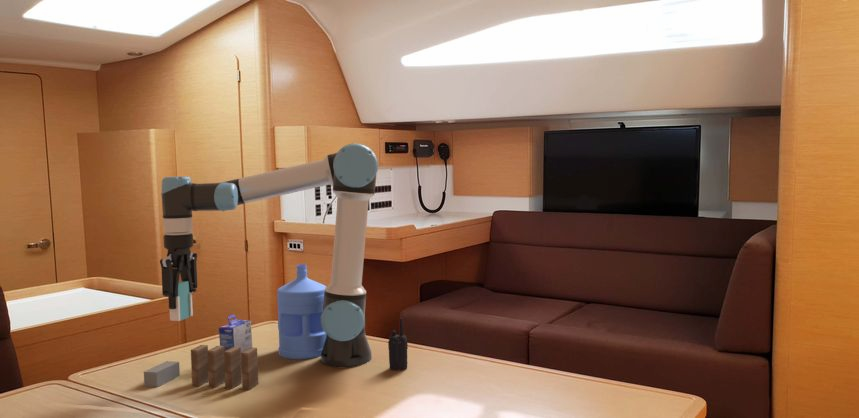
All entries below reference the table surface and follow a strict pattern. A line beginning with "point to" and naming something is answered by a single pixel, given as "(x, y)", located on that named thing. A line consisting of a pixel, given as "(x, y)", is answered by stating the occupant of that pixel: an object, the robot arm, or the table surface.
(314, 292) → the water jug
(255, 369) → the domino
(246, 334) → the ink cartridge box
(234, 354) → the domino
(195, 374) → the domino
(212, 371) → the domino
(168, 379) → the block
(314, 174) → the robot arm
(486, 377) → the table surface
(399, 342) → the two-way radio
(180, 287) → the teal domino
